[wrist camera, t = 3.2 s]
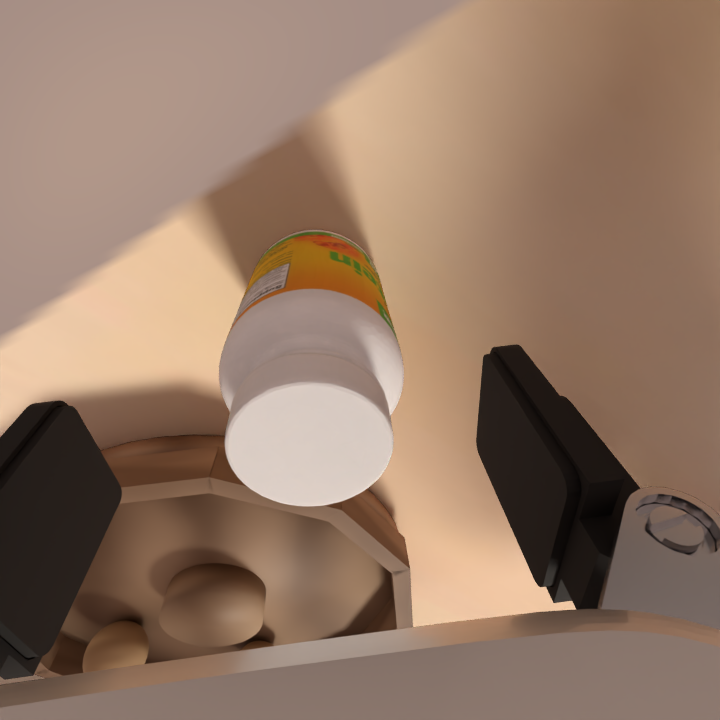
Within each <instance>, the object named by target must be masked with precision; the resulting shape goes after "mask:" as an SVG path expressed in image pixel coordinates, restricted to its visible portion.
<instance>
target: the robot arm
mask: <svg viewBox="0 0 720 720" xmlns="http://www.w3.org/2000/svg"><path fill="white" fill-rule="evenodd" d="M476 443H477V450H478V453H479V456H480V458H481V460H482V463H483V465H484V467H485V469H486V472H487V474H488V476H489V478H490V481H491V483H492V485H493V487H494V490H495V492H496V494H497V496H498V499H499V501H500V503H501V505H502V508H503V510H504V512H505V514H506V517H507V519H508V521H509V523H510V526H511V528H512V530H513V533H514V535H515V537H516V539H517V542H518V544H519V546H520V548H521V551H522V553H523V555H524V557H525V560H526V562H527V564H528V566H529V569H530V571H531V573H532V575H533V578H534V580H535V582H536V583H537V585H538V586H540V587H545V586H546V587H547V590H548V592H549V594H550V596H551V598H552V600H553V603H557V602H565V601H573V603H574V605H575V607H576V609H577V610H563V611H548V612H535V613H527V614H518V615H509V616H501V617H492V618H484V619H475V620H466V621H458V622H449V623H441V624H434V625H426V626H419V627H412V628H404V629H397V630H389V631H382V632H374V633H367V634H359V635H352V636H344V637H337V638H330V639H322V640H315V641H307V642H300V643H293V644H286V645H278V646H271V647H264V648H257V649H249V650H242V651H235V652H228V653H221V654H213V655H206V656H199V657H192V658H185V659H178V660H171V661H164V662H156V663H149V664H142V665H135V666H128V667H121V668H114V669H107V670H100V671H93V672H86V673H79V674H73V675H66V676H59V677H52V678H45V679H38V680H31V681H24V682H17V683H10V684H4V685H0V720H720V515H719V514H717V513H716V512H715V511H714V510H713V509H712V508H711V507H709V506H708V505H706V504H705V503H703V502H702V501H700V500H699V499H697V498H695V497H693V496H690V495H688V494H686V493H684V492H681V491H678V490H674V489H670V488H666V487H647V488H642V489H640V487H639V486H638V485H637V484H636V482H635V481H634V480H633V479H632V477H631V476H630V475H629V474H628V472H627V471H626V470H625V469H624V467H623V466H622V465H621V464H620V462H619V461H618V460H617V459H616V458H615V456H614V455H613V454H612V453H611V451H610V450H609V449H608V448H607V446H606V445H605V444H604V443H603V441H602V440H601V439H600V438H599V436H598V435H597V434H596V433H595V431H594V430H593V429H592V428H591V427H590V425H589V424H588V423H587V422H586V420H585V419H584V418H583V417H582V415H581V414H580V413H579V412H578V410H577V409H576V408H575V407H574V405H573V404H572V403H571V402H570V401H569V400H568V399H567V398H566V397H563V396H559V394H558V393H557V392H556V390H555V389H554V388H553V387H552V385H551V384H550V383H549V382H548V380H547V379H546V378H545V377H544V375H543V374H542V373H541V371H540V370H539V369H538V368H537V366H536V365H535V364H534V363H533V361H532V360H531V359H530V357H529V356H528V355H527V354H526V352H525V351H524V350H523V349H522V347H521V346H520V345H517V344H516V345H508V346H500V347H493V348H492V350H491V353H490V354H486V355H484V357H483V366H482V378H481V390H480V402H479V414H478V426H477V438H476ZM121 497H122V490H121V486H120V484H119V482H118V480H117V479H116V477H115V475H114V474H113V472H112V470H111V468H110V467H109V465H108V463H107V462H106V460H105V458H104V456H103V455H102V453H101V451H100V450H99V448H98V446H97V444H96V443H95V441H94V439H93V438H92V436H91V434H90V432H89V431H88V429H87V427H86V426H85V424H84V422H83V420H82V419H81V417H80V415H79V414H78V412H77V410H76V409H75V408H74V407H72V406H68V405H67V403H65V402H64V401H51V402H43V403H35V404H31V405H30V406H28V407H27V408H26V409H25V410H24V411H23V413H22V414H21V415H20V416H19V417H18V418H17V419H16V420H15V422H14V423H13V424H12V425H11V426H10V427H9V428H8V429H7V431H6V432H5V433H4V434H3V435H2V436H1V437H0V676H1V677H2V678H3V679H12V678H19V677H26V676H33V675H34V673H35V671H36V669H37V667H38V665H39V663H40V661H41V658H42V656H44V655H45V654H47V653H48V652H49V651H50V650H51V648H52V646H53V645H54V643H55V641H56V638H57V636H58V634H59V632H60V630H61V628H62V626H63V623H64V621H65V619H66V617H67V615H68V613H69V611H70V608H71V606H72V604H73V602H74V600H75V598H76V596H77V593H78V591H79V589H80V587H81V585H82V583H83V581H84V578H85V576H86V574H87V572H88V570H89V568H90V566H91V563H92V561H93V559H94V557H95V555H96V553H97V551H98V548H99V546H100V544H101V542H102V540H103V538H104V536H105V533H106V531H107V529H108V527H109V525H110V523H111V521H112V518H113V516H114V514H115V512H116V510H117V508H118V506H119V503H120V501H121Z"/></svg>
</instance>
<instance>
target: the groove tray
mask: <svg viewBox="0 0 720 720" xmlns="http://www.w3.org/2000/svg"><path fill="white" fill-rule="evenodd" d="M101 453H102V455H103V456H104V458H105V460H106V462H107V463H108V465H109V467H110V468H111V470H112V472H113V474H114V475H115V477H116V479H117V480H118V482H119V484H120V486H121V490H122V497H121V501H120V503H119V506H118V508H117V510H116V512H115V514H114V516H113V518H112V521H111V523H110V525H109V527H108V529H107V531H106V533H105V536H104V538H103V540H102V542H101V544H100V546H99V548H98V551H97V553H96V555H95V557H94V559H93V561H92V563H91V566H90V568H89V570H88V572H87V574H86V576H85V578H84V581H83V583H82V585H81V587H80V589H79V591H78V593H77V596H76V598H75V600H74V602H73V604H72V606H71V608H70V611H69V613H68V615H67V617H66V619H65V621H64V623H63V626H62V628H61V630H60V632H59V634H58V636H57V638H56V641H55V643H54V645H53V646H52V648H51V650H50V651H49V652H48V653H47V654H45V655H44V656H42V658H41V661H40V663H39V665H38V667H37V669H36V671H35V673H34V674H35V675H38V676H41V677H44V678H52V677H59V676H66V675H73V674H79V673H83V657H84V654H85V651H86V648H87V646H88V644H89V643H90V641H91V640H92V638H93V637H94V636H95V635H96V634H97V633H98V632H99V631H100V630H101V629H103V628H104V627H106V626H107V625H109V624H111V623H114V622H117V621H124V620H125V621H132V622H135V623H137V624H139V625H140V626H141V627H142V628H143V629H144V630H145V632H146V634H147V637H148V641H149V651H148V655H147V659H146V662H145V664H149V663H156V662H164V661H171V660H178V659H185V658H192V657H199V656H206V655H213V654H221V653H228V652H235V651H240V650H241V649H242V648H243V647H244V646H245V645H247V644H248V643H251V642H253V641H259V640H261V641H267V642H269V643H271V644H273V645H274V646H278V645H286V644H293V643H300V642H307V641H315V640H322V639H330V638H337V637H344V636H352V635H359V634H367V633H374V632H382V631H389V630H397V629H404V628H412V627H413V622H412V601H411V579H410V566H409V561H408V555H407V550H406V544H405V539H404V537H403V536H402V535H401V534H400V533H399V532H398V529H397V527H396V524H395V522H394V521H393V519H392V517H391V516H390V514H389V513H388V511H387V510H386V508H385V507H384V506H383V505H382V503H381V502H380V501H379V500H378V499H377V498H376V497H375V496H374V495H373V494H372V493H371V492H370V491H369V490H368V489H366V490H364V491H363V492H361V493H359V494H358V495H355V496H353V497H351V498H349V499H346V500H344V501H341V502H337V503H333V504H328V505H322V506H295V505H288V504H284V503H279V502H276V501H273V500H271V499H268V498H266V497H263V496H261V495H260V494H258V493H256V492H255V491H253V490H251V489H250V488H249V487H247V486H246V485H245V484H244V483H243V482H242V481H241V480H240V479H239V478H238V477H237V476H236V474H235V473H234V471H233V470H232V468H231V466H230V464H229V462H228V459H227V456H226V452H225V436H208V435H184V436H169V437H158V438H152V439H146V440H140V441H134V442H129V443H126V444H122V445H119V446H115V447H112V448H108V449H105V450H102V451H101Z"/></svg>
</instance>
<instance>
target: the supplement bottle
mask: <svg viewBox="0 0 720 720" xmlns="http://www.w3.org/2000/svg"><path fill="white" fill-rule="evenodd" d="M403 381H404V367H403V360H402V355H401V351H400V347H399V344H398V340H397V337H396V334H395V331H394V327H393V324H392V321H391V317H390V314H389V311H388V307H387V304H386V300H385V297H384V293H383V290H382V286H381V282H380V279H379V276H378V273H377V271H376V268H375V266H374V264H373V262H372V261H371V259H370V258H369V256H368V255H367V254H366V252H365V251H364V250H363V249H362V248H361V247H360V246H358V245H357V244H356V243H355V242H353V241H351V240H350V239H348V238H347V237H344V236H342V235H340V234H337V233H334V232H330V231H326V230H304V231H299V232H296V233H293V234H290V235H288V236H286V237H284V238H282V239H280V240H279V241H278V242H276V243H275V244H273V245H272V246H271V247H270V248H269V249H268V250H267V251H266V252H265V253H264V255H263V256H262V257H261V259H260V261H259V262H258V264H257V266H256V268H255V270H254V272H253V275H252V277H251V279H250V282H249V284H248V287H247V289H246V292H245V294H244V297H243V299H242V302H241V304H240V307H239V309H238V312H237V314H236V317H235V319H234V322H233V324H232V327H231V329H230V332H229V334H228V336H227V339H226V342H225V344H224V348H223V351H222V354H221V359H220V365H219V382H220V389H221V392H222V396H223V399H224V401H225V403H226V406H227V408H228V409H229V411H230V414H229V418H228V423H227V427H226V431H225V452H226V456H227V459H228V462H229V464H230V466H231V468H232V470H233V471H234V473H235V474H236V476H237V477H238V478H239V479H240V480H241V481H242V482H243V483H244V484H245V485H246V486H247V487H249V488H250V489H251V490H253V491H255V492H256V493H258V494H260V495H261V496H263V497H266V498H268V499H271V500H273V501H276V502H279V503H284V504H288V505H295V506H322V505H328V504H333V503H337V502H341V501H344V500H346V499H349V498H351V497H353V496H355V495H358V494H359V493H361V492H363V491H364V490H366V489H367V488H369V487H370V486H371V485H372V484H373V483H374V482H376V481H377V480H378V479H379V477H380V476H381V475H382V474H383V472H384V471H385V469H386V467H387V465H388V463H389V461H390V458H391V455H392V452H393V444H394V439H393V430H392V424H391V417H390V416H391V414H392V413H393V411H394V409H395V408H396V406H397V404H398V402H399V399H400V396H401V392H402V388H403Z"/></svg>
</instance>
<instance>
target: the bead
mask: <svg viewBox="0 0 720 720" xmlns="http://www.w3.org/2000/svg"><path fill="white" fill-rule="evenodd" d="M148 651H149V641H148V637H147V634H146V632H145V630H144V629H143V628H142V627H141V626H140V625H139V624H137V623H135V622H132V621H125V620H124V621H117V622H114V623H111V624H109V625H107V626H106V627H104V628H103V629H101V630H100V631H99V632H98V633H97V634H96V635H95V636H94V637H93V638H92V640H91V641H90V643H89V644H88V646H87V648H86V651H85V654H84V657H83V673H86V672H93V671H100V670H107V669H114V668H121V667H128V666H135V665H142V664H145V662H146V659H147V655H148Z"/></svg>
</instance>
